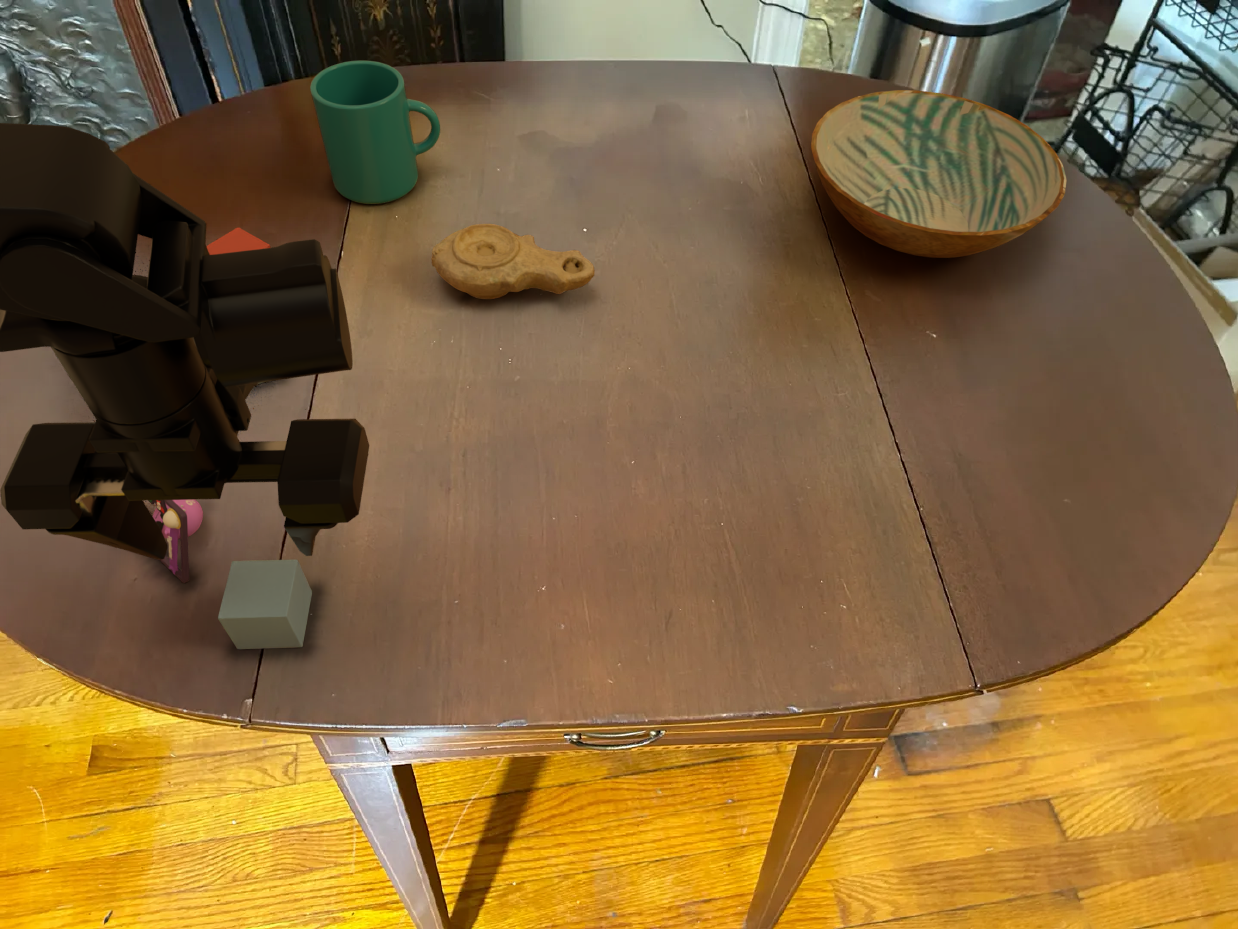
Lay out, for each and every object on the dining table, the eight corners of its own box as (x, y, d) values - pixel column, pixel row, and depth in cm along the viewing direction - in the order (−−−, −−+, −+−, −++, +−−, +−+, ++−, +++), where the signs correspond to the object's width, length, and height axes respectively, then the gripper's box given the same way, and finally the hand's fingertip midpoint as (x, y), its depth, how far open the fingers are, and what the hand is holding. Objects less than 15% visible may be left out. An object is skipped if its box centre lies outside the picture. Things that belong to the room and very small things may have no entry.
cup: (451, 198, 97) (439, 99, 88) (336, 211, 95) (311, 112, 86) (441, 150, 102) (428, 53, 93) (331, 162, 100) (308, 63, 91)
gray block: (237, 649, 64) (217, 618, 60) (250, 593, 66) (231, 560, 63) (302, 647, 64) (286, 616, 60) (312, 592, 67) (297, 559, 63)
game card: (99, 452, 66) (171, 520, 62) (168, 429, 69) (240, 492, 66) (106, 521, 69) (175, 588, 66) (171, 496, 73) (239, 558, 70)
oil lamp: (598, 306, 87) (599, 264, 83) (451, 335, 84) (445, 294, 80) (566, 238, 93) (566, 197, 89) (428, 264, 90) (421, 222, 86)
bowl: (750, 190, 99) (761, 124, 93) (924, 133, 108) (945, 68, 101) (901, 332, 86) (926, 265, 80) (1086, 254, 94) (1122, 188, 88)
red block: (245, 307, 85) (230, 269, 82) (214, 288, 87) (198, 250, 83) (283, 282, 87) (269, 244, 84) (252, 265, 89) (238, 226, 86)
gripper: (355, 276, 51) (397, 451, 64) (12, 278, 50) (122, 455, 62) (325, 426, 44) (379, 589, 57) (-73, 432, 43) (70, 597, 56)
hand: (237, 551), depth 58 cm, fingers open, 9 cm apart
